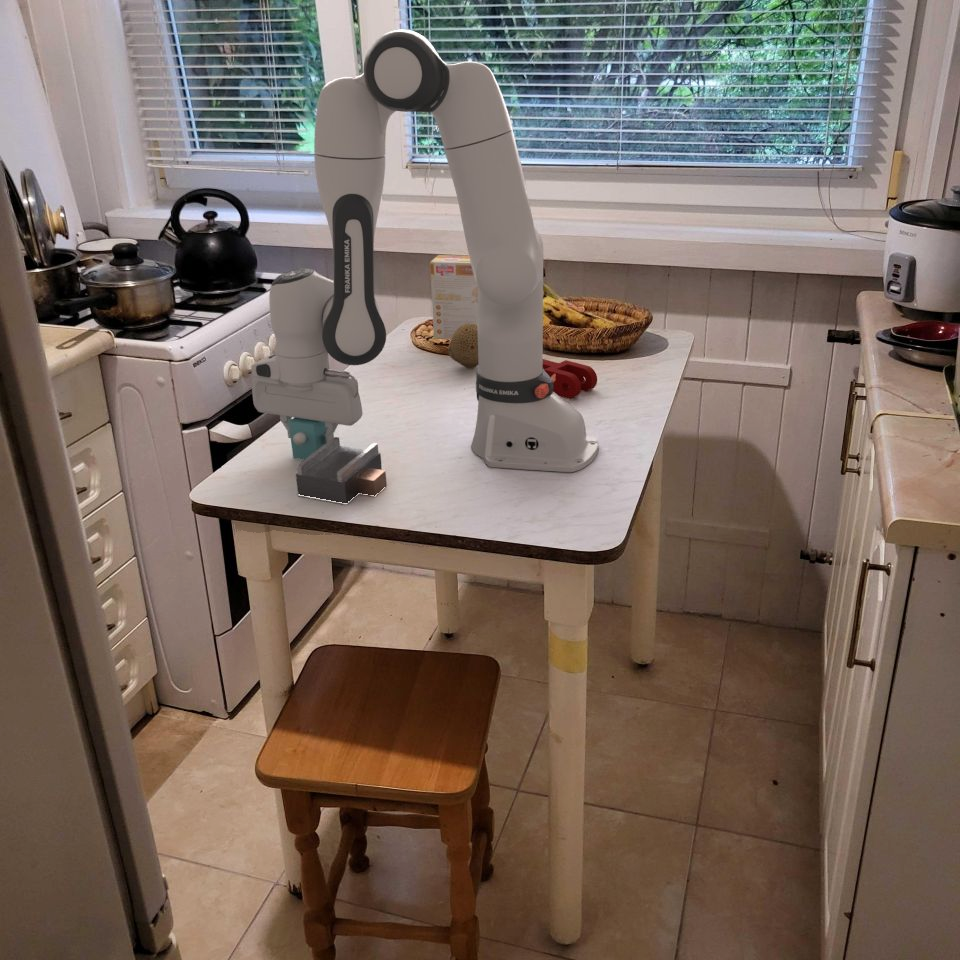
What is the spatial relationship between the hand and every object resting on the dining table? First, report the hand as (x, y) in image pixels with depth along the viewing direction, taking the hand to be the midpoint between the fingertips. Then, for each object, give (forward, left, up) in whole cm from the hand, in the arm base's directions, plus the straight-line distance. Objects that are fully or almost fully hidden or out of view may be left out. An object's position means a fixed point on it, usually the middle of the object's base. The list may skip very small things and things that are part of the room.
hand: (311, 440), depth 172 cm
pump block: (0, 0, -3) cm, 3 cm away
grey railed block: (-12, +9, -3) cm, 16 cm away
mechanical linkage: (-30, -46, -3) cm, 55 cm away
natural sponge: (-9, -50, -3) cm, 51 cm away
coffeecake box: (-1, -67, -3) cm, 67 cm away
